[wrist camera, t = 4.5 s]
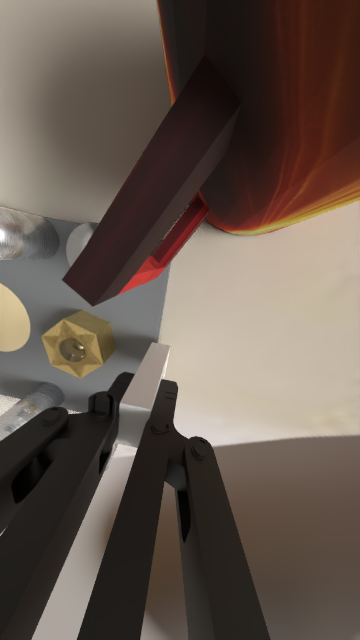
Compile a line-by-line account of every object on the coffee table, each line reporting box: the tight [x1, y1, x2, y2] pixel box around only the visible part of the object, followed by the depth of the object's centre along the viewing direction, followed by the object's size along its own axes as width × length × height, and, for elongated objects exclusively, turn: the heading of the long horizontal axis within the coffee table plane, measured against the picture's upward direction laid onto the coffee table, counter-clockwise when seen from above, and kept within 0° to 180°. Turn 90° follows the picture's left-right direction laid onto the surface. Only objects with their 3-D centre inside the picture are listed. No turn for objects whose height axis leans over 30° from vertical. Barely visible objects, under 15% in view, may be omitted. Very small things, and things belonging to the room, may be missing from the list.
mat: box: [0, 216, 171, 413], centre depth 17 cm, size 18×18×1 cm
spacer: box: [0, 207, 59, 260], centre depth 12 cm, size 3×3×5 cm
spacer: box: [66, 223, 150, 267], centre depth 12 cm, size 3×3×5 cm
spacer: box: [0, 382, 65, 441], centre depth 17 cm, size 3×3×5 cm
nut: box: [41, 310, 116, 379], centre depth 15 cm, size 5×4×2 cm
